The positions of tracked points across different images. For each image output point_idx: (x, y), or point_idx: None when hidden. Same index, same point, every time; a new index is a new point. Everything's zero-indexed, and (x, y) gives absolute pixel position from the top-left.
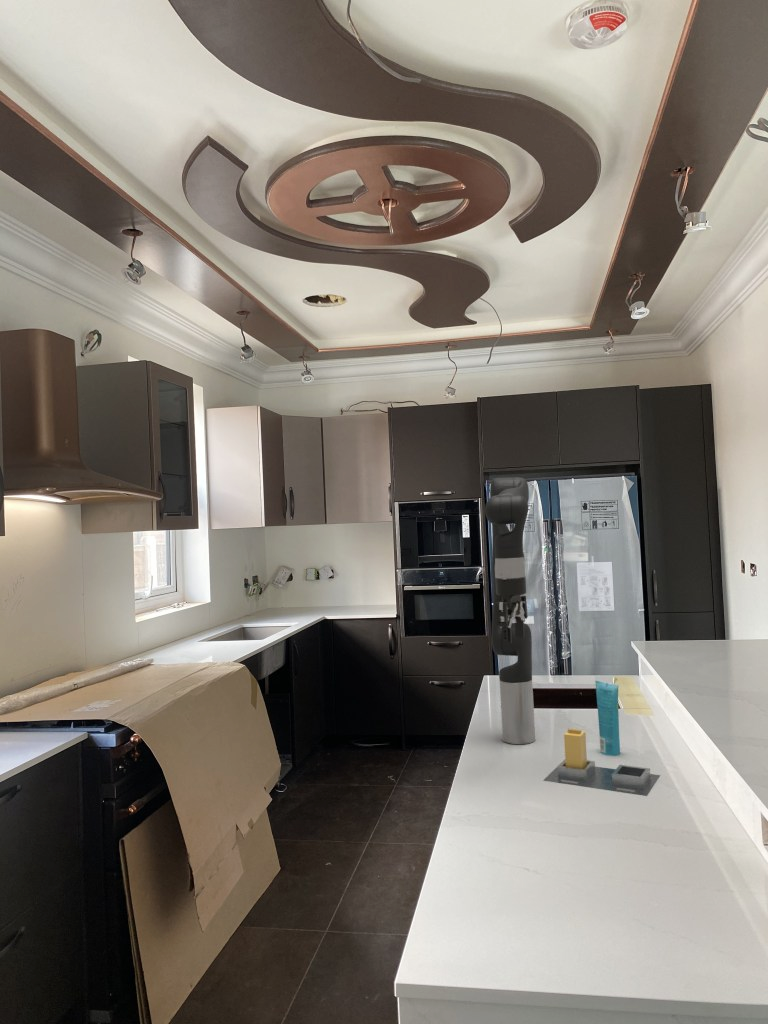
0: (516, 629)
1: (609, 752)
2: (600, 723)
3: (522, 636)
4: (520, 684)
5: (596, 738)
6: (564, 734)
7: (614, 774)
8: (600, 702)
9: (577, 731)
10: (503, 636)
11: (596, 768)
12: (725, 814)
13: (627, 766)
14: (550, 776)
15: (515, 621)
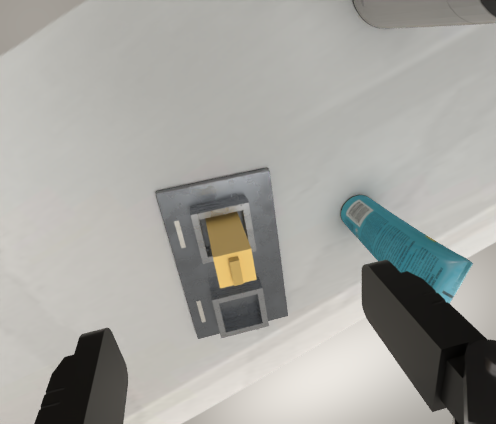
0: (396, 309)
1: (346, 222)
2: (382, 229)
3: (365, 309)
4: (474, 1)
5: (449, 139)
6: (213, 258)
7: (213, 303)
8: (414, 253)
9: (233, 280)
10: (47, 404)
11: (268, 235)
12: (211, 402)
13: (260, 299)
14: (183, 194)
15: (465, 355)
